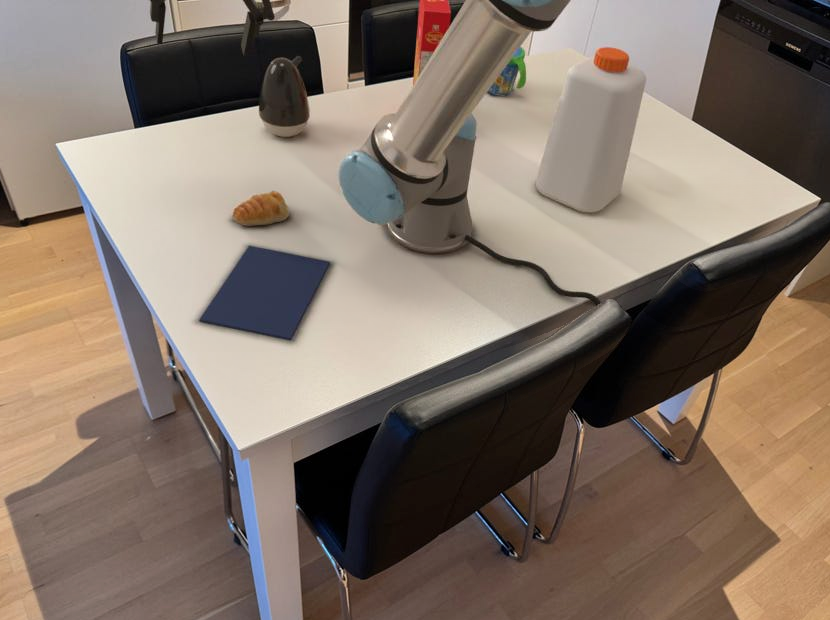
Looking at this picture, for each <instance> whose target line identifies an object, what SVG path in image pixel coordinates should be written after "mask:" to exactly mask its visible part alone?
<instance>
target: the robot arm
mask: <svg viewBox="0 0 830 620" xmlns="http://www.w3.org/2000/svg"><path fill="white" fill-rule="evenodd" d="M149 1H150V5H149V6H150V7H149V15H150V16H149V17H150V19H151V22H154V23H155V33H154V34H155V39H156V44H157V45H163V41H164V32H165V20H166V13H167V12H166V10H167V6H166V0H149ZM571 1H572V0H465V1H464V3H463V5H462V6H461V8H460V9H459V11H458V13H456V15H455V17H454V18H453V20H452V22H451V23H450V26H449V29H448V30H447V32H446V33H445V35H444V37H443V38H442V40H441V41H440V43H439V45H438V46H437V48H436V50H435V51H434V53H433V54H432V56H431V58H430V59H429V61H428V62H427V64H426V66H425V67H424V69H423V71H422V72H421V74H420V75H419V77H418V79H417V80H416V82H415V83H414V85H413V84H412V87H411V88H410V90H409V91H408V93H407V95H406V96H405V98H404V99H403V101H402V103H401V105H400V106H399V108H398V109H397V111H396V112H395V113H389V114H386V115H384V116H383V117H381V118H380V119H379V120H378V122H377V123H376V125H374V127H373V129H372V131H371V132H370V134H369V136H368V137H367V139H366V140H365V142H364V144H363V145H362V146H361V147H360V148H358V149H357V150H353V151H351V152H349V153H348V154H347V156H345V157H344V158H343V160H342V161H341V162H340V165H339V169H338V181H339V186H340V188H341V190H342V194H343V197H344V198H345V201H346V202H347V203H348V205H349V206H350V207H351V209H352V210H353V211H354V212H355V213H356V214H357V215H358V216H359V217H361V218H362V219H363V220H365V221H367V222H369V223H371V224H376V225H378V226H379V225H380V226H384V225H387V231H388V234H389V235H390V237H391V238H392V239H393V240H394V241H395V242H396V243H398V244H399V245H401V246H403V247H404V248H407V249H409V250H411V251H412V250H413V251H415V252H419V253H424V254H434V255H435V254H437V255H438V254H446V253H451V252H455V251H457V250H461V249H462V248H463V247H465V246H466V245H467V244H468V243H469V244H472V245H473V246H474V247H476V248H478V249H479V250H481V251H483V252H484V253H486V254H487V255H489V256H490V257H491V258H493V259H495V260H496V261H499V262H502V263H505V264H507V265H512V266H513V265H514V266H520V267H524V268H529V269H531V270H534V271H536V272H537V273H538V274H540V276H542V278H543V279H544V281H545V282H546V284H547V286H548V287H549V288H550V289H551V290H552V291H553V292H554V293H556V294H558V295H560V296H563V297H567V298H578V299H579V298H580V299H582V298H583V299H587V300H589V301H591V302H592V303H593V304H594V306H596V305H598V304H600V303H602V302H601V300H600V299H599V298H598V297H597V296H596V295H594V294H592V293H590V292H587V291H572V290H571V291H570V290H566V289H563V288H561V287H559V286H558V285H557V284H555V282H554V281H553V279H552V277H550V275H549V274H548V272H547V270H545V269H544V268H543V267H541V266H540V265H539V264H536V263H535V262H532V261H529V260H523V259H516V258H511V257H507V256H504V255H501V254H500V253H498V252H496V251H494V250H493V249H492V248H490V247H488V246H487V245H485V244H484V243H483V242H481V241H480V240H477V239H475V238H474V237H472V232H473V220H472V213H471V211H470V205H469V200H468V189H469V183H470V177H471V171H472V166H473V165H472V164H473V157H474V153H475V152H474V151H475V145H476V140H477V126H478V125H477V124H478V123H477V122H478V121H477V120H476V117H475V116H474V114H473V112H474V111H475V109H476V108H477V106H478V105H479V104H480V102H481V101H482V99H483V98H484V97H485V96H486V95H487V93H488V92H487V91H488V90H489V89H490V87H491V86H492V84H493V83H494V82H495V80H496V79H497V78H498V76H499V75H500V74H501V72H502V71H503V69H504V68H505V67H506V65H507V64H508V63H509V61H510V60H511V59H512V57H513V56H514V54H515V53H516V52H517V50H518V49H519V48H520V47H522V45H523V44H524V42H526V40H527V38H528V37H529V35H530V34H531V33H532V32H544V31H547V30H549V29H550V28H552V26H553V25H554V23H555V22H556V20H557V19H558V18H559V16H560V15H561V14H562V13H563V11H564V10H565V9H566V8H567V6H568V5H569V3H571ZM242 2H243V3H244V5H245V6H246V8H247V9H248V11H247V13H246V18H245V23H244V28H243V32H242V38H241V44H240V48H241V52H242V55H243V57H247V58H248V57H249V54H250V50H251V49H250V48H251V44H252V40H253V38H257V39H258V37H259V35H260V30H261V26H263V24H264V23H265V21H264V20H268V21H274V19H276V18H275V16H276V15H275V13H274V11H273V6H272V3H271V0H261V3H262V5H263V6H262V7H261V6H259V4H258V3H257V1H256V0H242Z"/></svg>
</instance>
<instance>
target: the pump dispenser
mask: <svg viewBox="0 0 830 620" xmlns="http://www.w3.org/2000/svg"><path fill="white" fill-rule="evenodd" d="M302 60H303V59H302V57H301V56H300V55H297V56H296V57H295V58H294V59H293V60H290V59H288V58H286V57H277V58H275V59H273V60H271V62H270V63H269V65H268V66H267V69H266V71H265V73H264V76H263V79H262V83H261V88H260V93H259V101H258V115H259V118H260V119H261V122H262V125H263V126H264V127H265V129H266V130H267V131H268V132H270V133H271V134H273V135H274V136H278V137H282V138H290V137H295V136H297V135H299V134H301V133H302V132H303V131H304V130H305V128H306V127H307V124H308V120H309V119H310V116H311V114H310V113H311V112H310V111H311V110H310V106H309V105H310V104H309V99H308V94H307V90H306V87H305V84H304V81H303V78H302V76H301V73H300V71H299V68H297V67H298V65H299V64H300V63H301V62H302Z"/></svg>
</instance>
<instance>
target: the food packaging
mask: <svg viewBox="0 0 830 620" xmlns="http://www.w3.org/2000/svg"><path fill="white" fill-rule="evenodd" d="M451 17H452V11H451V7H450V3H449V0H419V7H418V18H417V31H416V43H415V55H414V66H413V67H414V68H413V78H412V79H413V80H412V86H413V85H414V83H415V82H416V80H417V79H418V77H419V75H420V74H421V72H422V71H423V69H424V67H425V66H426V64H427V62H428V61H429V59H430V58H431V56H432V54H433V53H434V51H435V50H436V48H437V46H438V45H439V43H440V41H441V40H442V38H443V37H444V35H445V33H446V32H447V30H448V29H449V27H450V25H451Z"/></svg>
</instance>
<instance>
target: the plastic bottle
mask: <svg viewBox="0 0 830 620" xmlns="http://www.w3.org/2000/svg"><path fill="white" fill-rule="evenodd" d="M629 62H630V55H629V53H627V52H626V51H624V50H622V49H620V48H616V47H610V46H604V47H600V48H598V49H597V50H596V51H595V54H594V55H591V56H588V57H586V58H584V59H582V60H581V61H579V62H577V63H575V64H574V65H572V66H571V67H570V68H569V69H568V71H567V73H566V77H565V80H564V84H563V86H562V91H561V94H560V97H559V101H558V104H557V107H556V111H555V115H554V117H553V120H552V124H551V128H550V131H549V135H548V138H547V141H546V144H545V147H544V150H543V155H542V157H541V161H540V165H539V167H538V171H537V175H536V177H535V178H536V179H535V187H536V189H537V191H538V192H539V193H540V194H541V195H543V196H545V197H546V198H549V199H551V200H554V201H555V202H558V203H559V204H562V205H564V206H566V207H568V208H570V209H573V210H576V211H578V212H581V213H588V214H591V213H596V212H599V211H602V210H603V209H604V208H606V206H608V205H609V204H610V203H611V202H612V201H614V200H615V199H616V198H617V197H618V196H619V195H620V194H621V192H622V188H623V183H624V179H625V174H626V170H627V166H628V161H629V157H630V152H631V149H632V143H633V140H634V135H635V130H636V126H637V122H638V118H639V113H640V109H641V105H642V100H643V95H644V91H645V87H646V83H647V76H646V73H645V72H644V71H643V70H641V69H639V68H638V67H636V66H633V65H630V64H629Z"/></svg>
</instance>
